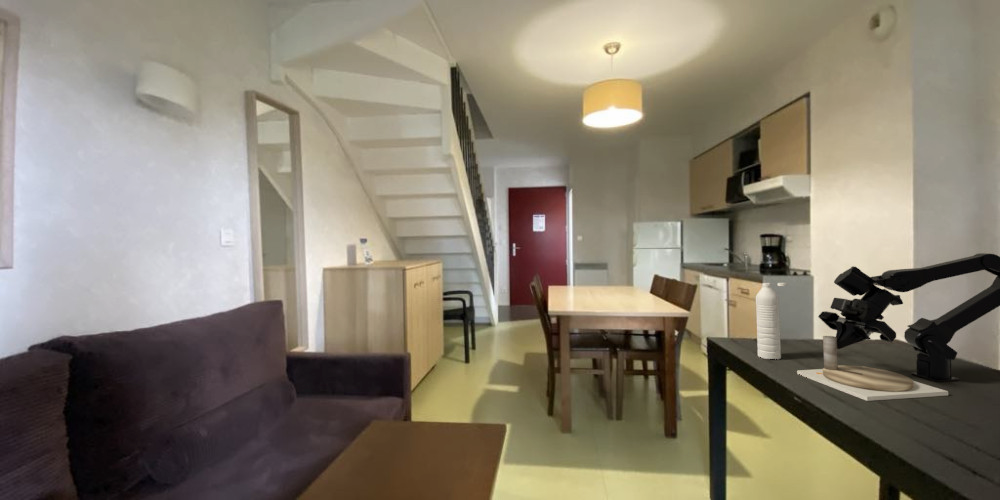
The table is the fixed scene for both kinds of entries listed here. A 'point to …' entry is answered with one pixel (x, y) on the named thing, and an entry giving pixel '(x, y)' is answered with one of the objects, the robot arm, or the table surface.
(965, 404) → the table surface
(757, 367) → the table surface
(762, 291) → the water bottle
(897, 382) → the dial
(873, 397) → the base
